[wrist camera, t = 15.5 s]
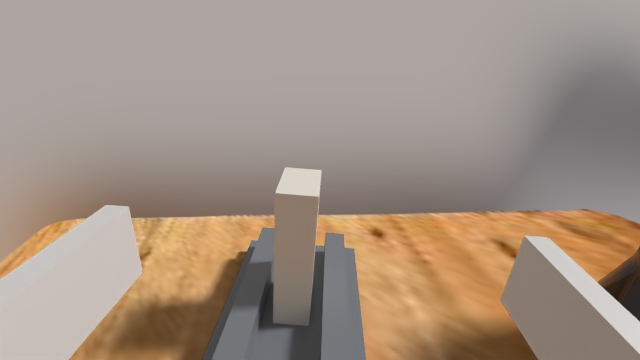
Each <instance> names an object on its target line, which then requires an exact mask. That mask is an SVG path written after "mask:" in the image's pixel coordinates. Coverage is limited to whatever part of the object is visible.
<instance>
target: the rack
mask: <svg viewBox="0 0 640 360" xmlns="http://www.w3.org/2000/svg"><path fill="white" fill-rule="evenodd" d="M274 234H275V229H273V228H262V231H261V234H260V236H259V239H258V241H251V244H250V246H249V248H248V251H247V253H246V255H245V258H244V260H243V263H242V265H241V267H240V270H239V272H238V275H237V277H236V279H235V282H234V284H233V287H232V289H231V291H230V294H229V296H228V299H227V301H226V303H225V306H224V308H223V310H222V313H221V315H220V318H219V320H218V322H217V325H216V327H215V330H214V332H213V334H212V337H211V339H210V342H209V344H208V346H207V349H206V351H205V354H204V356H203V358H202V360H366V357H365V347H364V338H363V329H362V319H361V310H360V300H359V291H358V282H357V272H356V263H355V254H354V249H351V248H344V234H335V233H326V234H325V245H324V246H315V259H314V271H313V284H312V296H311V308H310V319H309V326H302V325H290V324H278V323H273V294H274Z"/></svg>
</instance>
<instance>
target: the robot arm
mask: <svg viewBox="0 0 640 360" xmlns="http://www.w3.org/2000/svg"><path fill="white" fill-rule="evenodd" d="M142 272H143V271H142V267H141V262H140V257H139V253H138V248H137V243H136V239H135V234H134V229H133V225H132V220H131V215H130V211H129V207H125V206H113V205H106V206H104V207H103V208H101V209H100V210H99V211H97V212H96V213H94V214H93V215H91V216H90V217H88V218H87V219H86V220H84V221H83V222H81V223H80V224H78V225H77V226H76V227H74V228H73V229H71V230H70V231H68V232H67V233H66V234H64V235H63V236H61V237H60V238H58V239H57V240H56V241H54V242H53V243H51V244H50V245H48V246H47V247H46V248H44V249H43V250H41V251H40V252H38V253H37V254H36V255H34V256H33V257H31V258H30V259H28V260H27V261H26V262H24V263H23V264H21V265H20V266H18V267H17V268H16V269H14V270H13V271H11V272H10V273H9V274H7V275H6V276H4V277H3V278H1V279H0V360H68V359H69V358H70V357H71V356H72V355H73V354H74V352H75V351H76V350H77V349H78V348H79V346H80V345H81V344H82V343H83V342H84V341H85V339H86V338H87V337H88V336H89V335H90V334H91V332H92V331H93V330H94V329H95V328H96V326H97V325H98V324H99V323H100V322H101V321H102V319H103V318H104V317H105V316H106V315H107V314H108V312H109V311H110V310H111V309H112V308H113V306H114V305H115V304H116V303H117V302H118V301H119V299H120V298H121V297H122V296H123V295H124V294H125V292H126V291H127V290H128V289H129V288H130V286H131V285H132V284H133V283H134V282H135V281H136V279H137V278H138V277H139V276H140V275H141V273H142ZM501 302H502V304H503V305H504V307H505V308H506V310H507V311H508V313H509V315H510V316H511V318H512V319H513V321H514V322H515V324H516V326H517V327H518V329H519V330H520V332H521V333H522V335H523V337H524V338H525V340H526V341H527V343H528V344H529V346H530V348H531V349H532V351H533V352H534V354H535V355H536V357H537V359H538V360H640V247H639V248H638V250H637V252H636V253H635V254H634V255H633V256H632V257H630V258H629V259H628V260H626V261H625V262H624V263H622V264H621V265H620V266H618V267H617V268H616V269H614V270H613V271H612V272H610V273H609V274H608V275H606V276H605V277H604V278H602V279H601V280H600V281H598V282H596V281H595V280H594V279H593V278H592V277H591V276H590V275H589V274H587V273H586V272H585V271H584V270H583V269H582V268H581V267H580V266H579V265H578V264H577V263H575V262H574V261H573V260H572V259H571V258H570V257H569V256H568V255H567V254H566V253H565V252H564V251H562V250H561V249H560V248H559V247H558V246H557V245H556V244H555V243H554V242H553V241H552V240H550V239H549V238H548V237H534V236H524V238H523V241H522V244H521V246H520V249H519V252H518V254H517V257H516V260H515V262H514V265H513V268H512V270H511V273H510V276H509V278H508V281H507V284H506V286H505V289H504V292H503V294H502V297H501Z"/></svg>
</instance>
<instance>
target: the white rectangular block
mask: <svg viewBox="0 0 640 360" xmlns="http://www.w3.org/2000/svg"><path fill="white" fill-rule="evenodd" d="M320 182H321V170H311V169H299V168H298V169H297V168H285V170H284V172H283V175H282V177H281V180H280V182H279V185H278V187H277V190H276V192H275V234H274V294H273V323H278V324H290V325H302V326H309V319H310V308H311V296H312V284H313V271H314V259H315V246H316V233H317V220H318V207H319V194H320Z"/></svg>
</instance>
